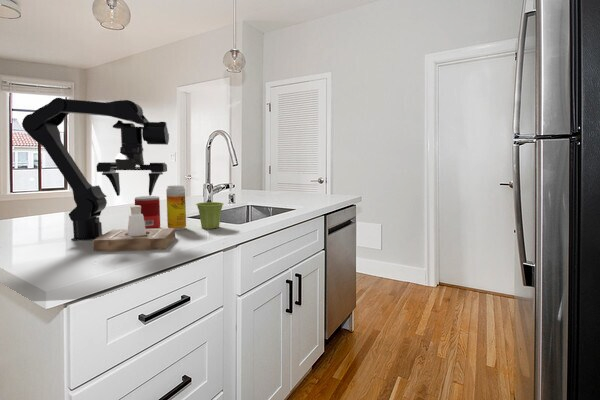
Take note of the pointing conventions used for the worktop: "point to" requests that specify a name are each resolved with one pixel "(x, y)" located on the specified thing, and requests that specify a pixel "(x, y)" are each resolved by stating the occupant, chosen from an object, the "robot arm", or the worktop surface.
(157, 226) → the canned food
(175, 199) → the yellow canister
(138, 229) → the salt shaker
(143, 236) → the board
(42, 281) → the worktop surface
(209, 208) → the plant pot
